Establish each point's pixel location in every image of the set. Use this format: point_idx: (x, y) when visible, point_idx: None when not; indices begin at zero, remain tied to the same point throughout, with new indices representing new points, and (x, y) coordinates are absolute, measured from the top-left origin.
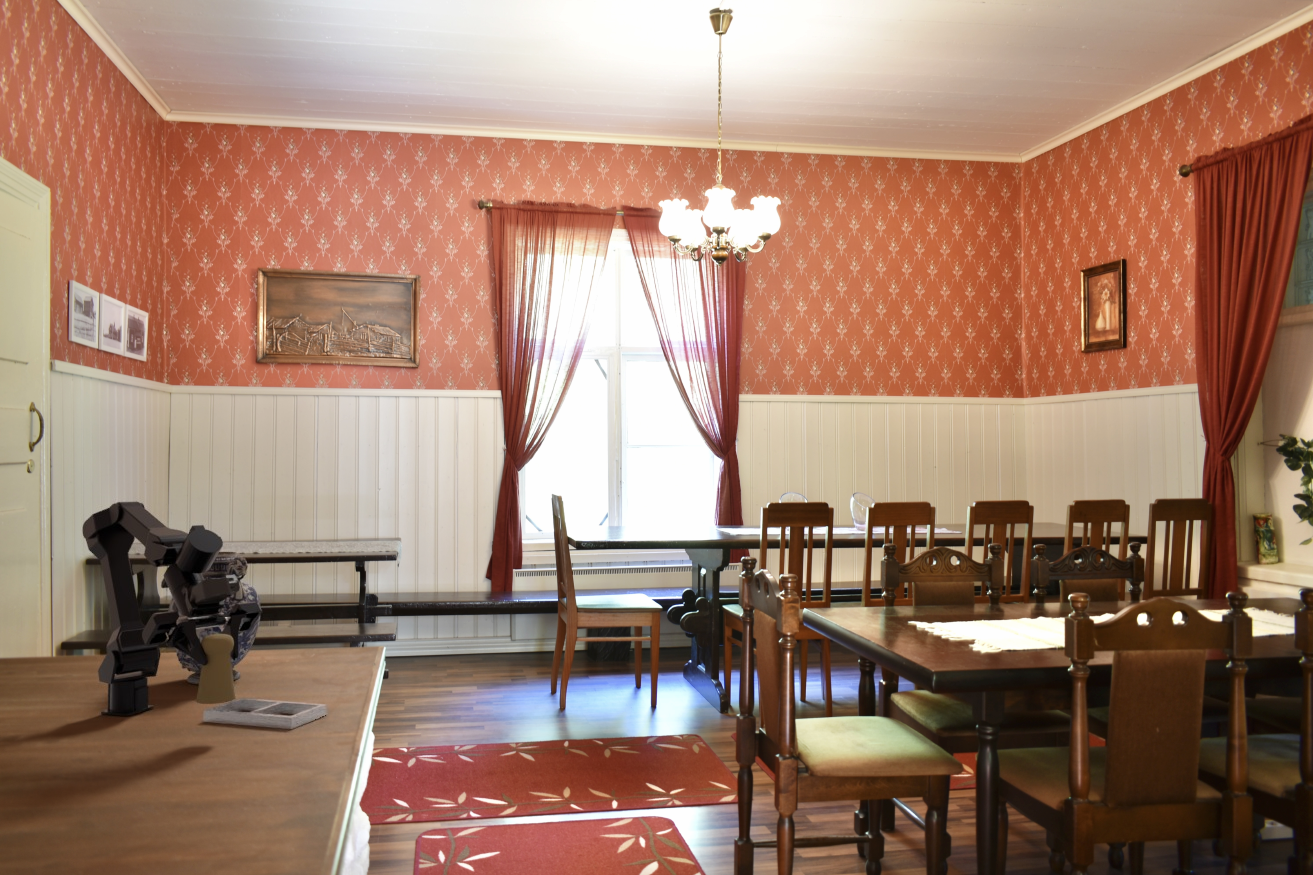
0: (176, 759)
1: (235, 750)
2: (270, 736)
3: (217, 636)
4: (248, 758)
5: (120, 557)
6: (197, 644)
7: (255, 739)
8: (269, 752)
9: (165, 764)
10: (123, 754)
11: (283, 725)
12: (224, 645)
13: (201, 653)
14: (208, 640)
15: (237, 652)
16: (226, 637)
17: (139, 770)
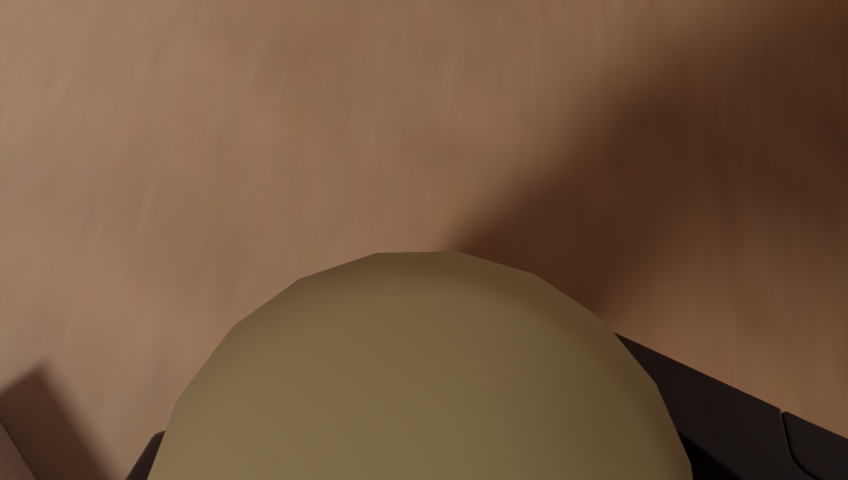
0: (582, 207)
1: (347, 187)
2: (138, 329)
3: (468, 361)
4: (334, 39)
5: None
6: (750, 425)
7: (217, 319)
8: (237, 67)
9: (626, 162)
10: None
11: (12, 453)
12: (363, 257)
13: (640, 348)
14: (614, 348)
15: (143, 466)
16: (306, 320)
17: (717, 143)
